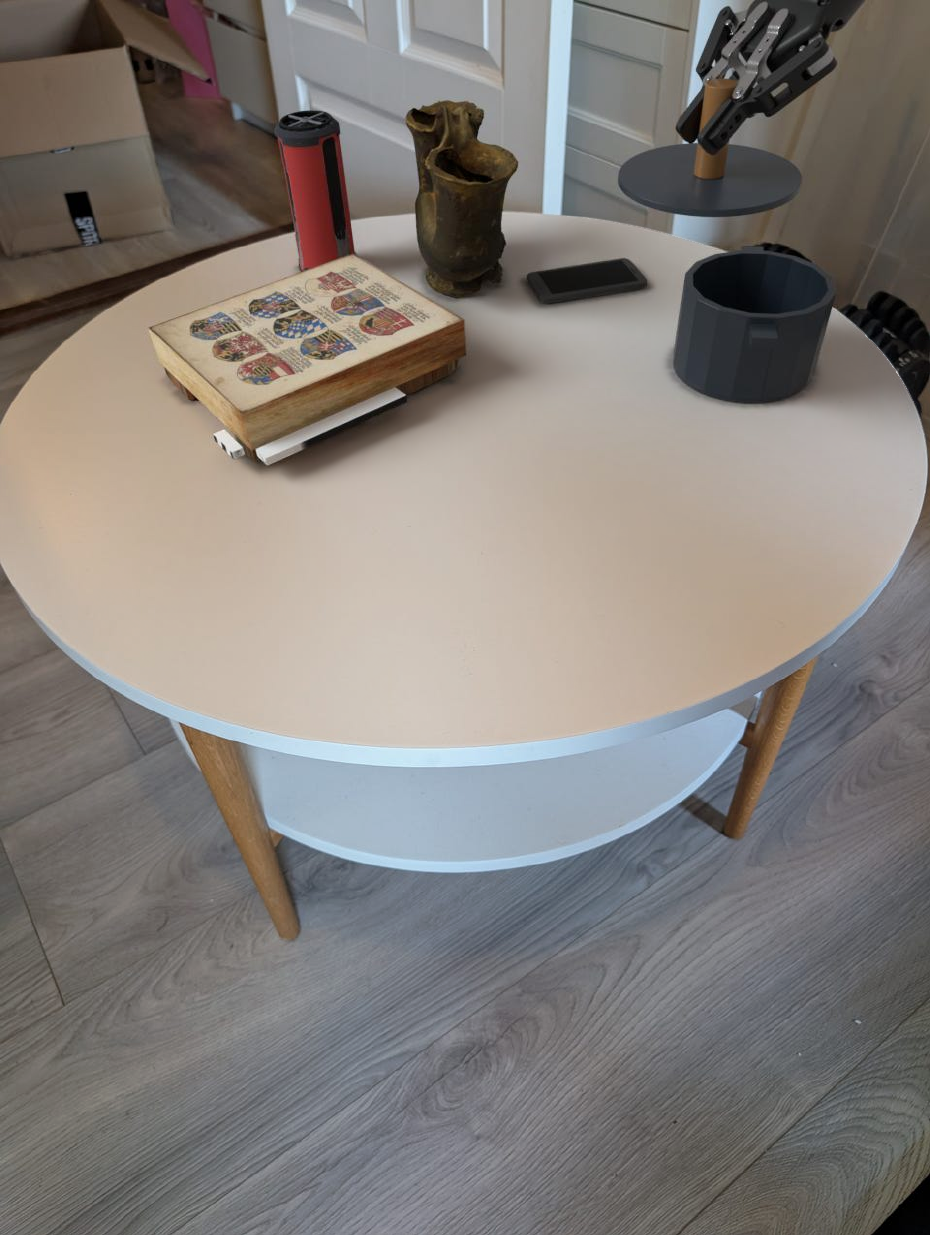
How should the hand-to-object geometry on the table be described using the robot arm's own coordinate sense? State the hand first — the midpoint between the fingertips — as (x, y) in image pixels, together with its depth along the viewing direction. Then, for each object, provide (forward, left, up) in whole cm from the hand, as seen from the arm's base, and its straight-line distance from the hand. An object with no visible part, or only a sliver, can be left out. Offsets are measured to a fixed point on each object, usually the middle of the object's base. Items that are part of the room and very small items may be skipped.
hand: (694, 141), depth 73 cm
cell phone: (+9, -25, -25) cm, 36 cm away
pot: (-9, -7, -25) cm, 27 cm away
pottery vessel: (+25, -26, -25) cm, 44 cm away
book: (+37, +1, -25) cm, 45 cm away
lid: (-2, -1, -4) cm, 4 cm away
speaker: (+43, -27, -25) cm, 57 cm away
